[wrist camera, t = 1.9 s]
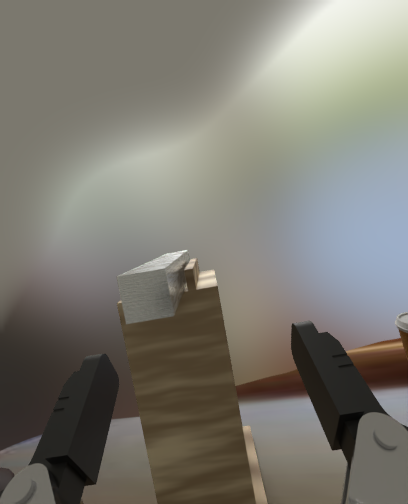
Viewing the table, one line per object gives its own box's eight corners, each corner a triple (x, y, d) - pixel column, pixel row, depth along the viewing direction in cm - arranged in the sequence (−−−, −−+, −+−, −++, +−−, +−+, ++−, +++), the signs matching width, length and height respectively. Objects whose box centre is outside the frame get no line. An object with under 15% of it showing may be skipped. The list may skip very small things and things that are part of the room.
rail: (174, 316, 21) (164, 268, 20) (126, 324, 21) (116, 276, 20) (191, 271, 47) (188, 249, 46) (170, 274, 47) (166, 253, 46)
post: (277, 549, 30) (227, 264, 28) (153, 568, 30) (94, 287, 28) (251, 435, 47) (219, 253, 45) (172, 448, 47) (136, 267, 45)
